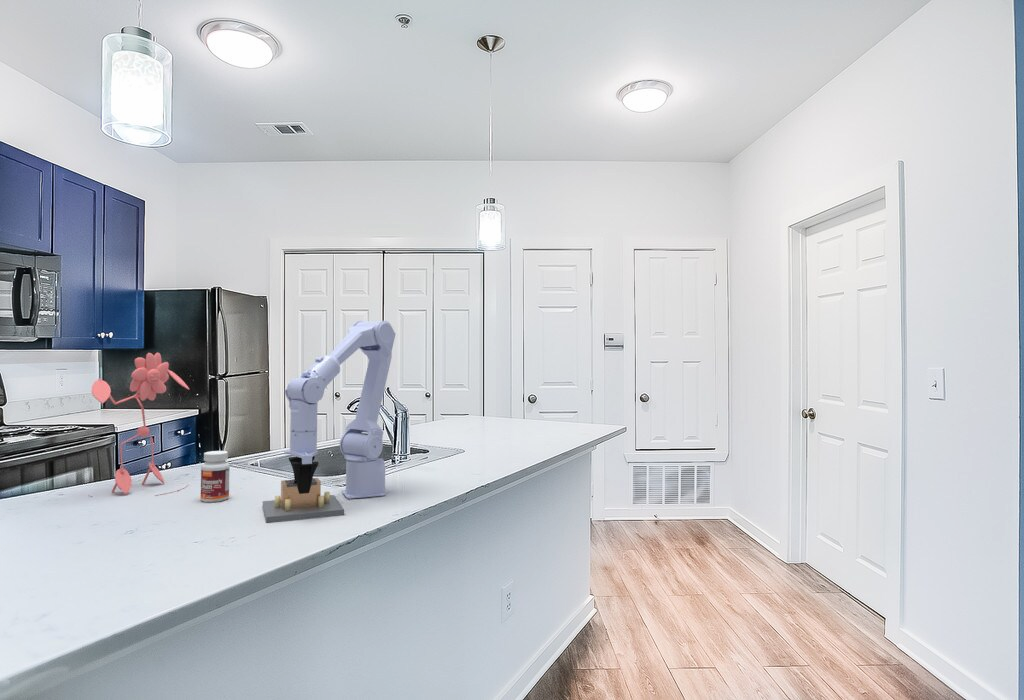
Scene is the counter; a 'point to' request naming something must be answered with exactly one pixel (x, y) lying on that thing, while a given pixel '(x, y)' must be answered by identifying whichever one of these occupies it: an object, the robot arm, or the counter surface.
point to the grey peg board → (301, 509)
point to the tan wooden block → (300, 500)
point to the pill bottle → (215, 477)
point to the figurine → (147, 385)
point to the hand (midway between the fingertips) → (302, 490)
